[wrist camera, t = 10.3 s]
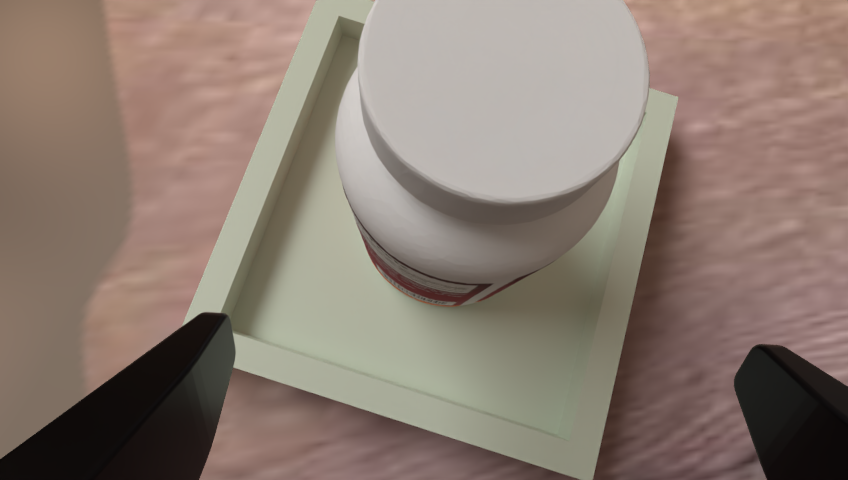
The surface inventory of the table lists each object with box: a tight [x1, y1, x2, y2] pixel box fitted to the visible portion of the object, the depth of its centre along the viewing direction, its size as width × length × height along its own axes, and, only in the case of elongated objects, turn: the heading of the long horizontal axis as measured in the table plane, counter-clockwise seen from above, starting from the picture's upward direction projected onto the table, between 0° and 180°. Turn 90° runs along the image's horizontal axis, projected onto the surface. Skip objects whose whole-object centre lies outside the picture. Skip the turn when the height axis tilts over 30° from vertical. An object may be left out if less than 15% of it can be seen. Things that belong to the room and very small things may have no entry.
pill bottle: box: [335, 0, 650, 307], centre depth 13 cm, size 6×6×11 cm
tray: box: [182, 0, 678, 480], centre depth 18 cm, size 14×14×2 cm
